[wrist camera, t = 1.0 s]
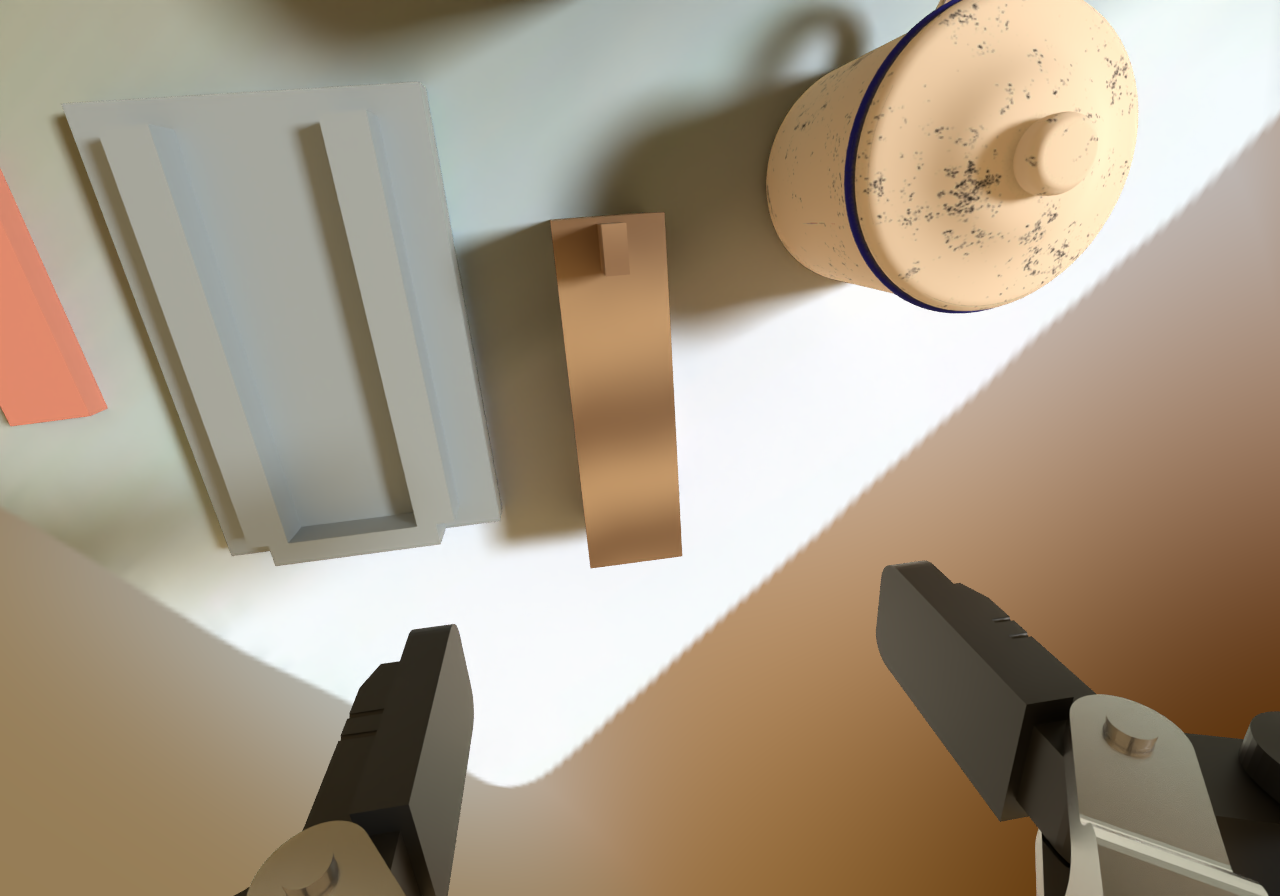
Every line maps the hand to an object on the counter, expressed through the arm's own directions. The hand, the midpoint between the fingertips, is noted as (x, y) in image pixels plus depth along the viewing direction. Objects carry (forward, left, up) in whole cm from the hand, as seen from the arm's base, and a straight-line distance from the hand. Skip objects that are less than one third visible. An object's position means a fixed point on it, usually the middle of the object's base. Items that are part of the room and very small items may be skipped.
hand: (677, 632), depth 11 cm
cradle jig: (-3, -12, -18) cm, 22 cm away
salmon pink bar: (-6, -23, -19) cm, 30 cm away
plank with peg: (0, +1, -18) cm, 18 cm away
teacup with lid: (-9, +13, -18) cm, 24 cm away
